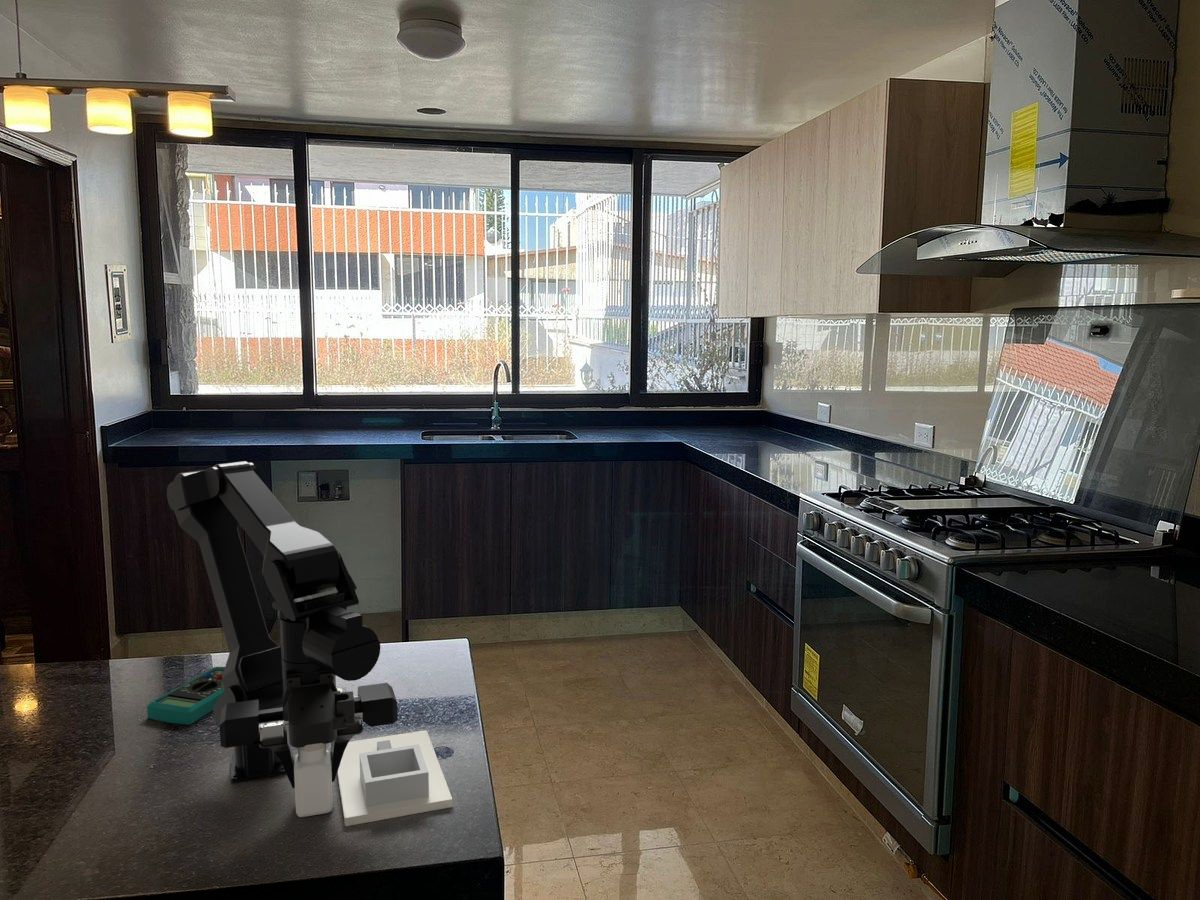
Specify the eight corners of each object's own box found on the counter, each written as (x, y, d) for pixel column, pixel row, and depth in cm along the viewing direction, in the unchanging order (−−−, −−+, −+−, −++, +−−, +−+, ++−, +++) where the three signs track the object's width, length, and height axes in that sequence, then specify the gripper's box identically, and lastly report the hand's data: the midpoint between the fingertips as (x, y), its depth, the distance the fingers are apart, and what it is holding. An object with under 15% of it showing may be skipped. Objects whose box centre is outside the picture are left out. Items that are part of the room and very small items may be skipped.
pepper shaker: (332, 796, 105) (329, 720, 103) (333, 814, 101) (330, 735, 100) (296, 801, 104) (292, 725, 102) (296, 820, 100) (292, 740, 98)
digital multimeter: (258, 686, 136) (257, 668, 136) (189, 729, 122) (188, 708, 122) (217, 680, 138) (216, 662, 138) (144, 722, 124) (143, 702, 124)
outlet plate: (333, 751, 115) (332, 722, 115) (426, 737, 120) (426, 709, 119) (345, 826, 99) (343, 793, 98) (452, 806, 103) (452, 774, 102)
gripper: (213, 694, 89) (221, 838, 91) (402, 670, 95) (406, 805, 98) (219, 654, 99) (226, 784, 102) (389, 634, 106) (392, 757, 108)
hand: (313, 783), depth 102 cm, fingers closed on pepper shaker, 4 cm apart
